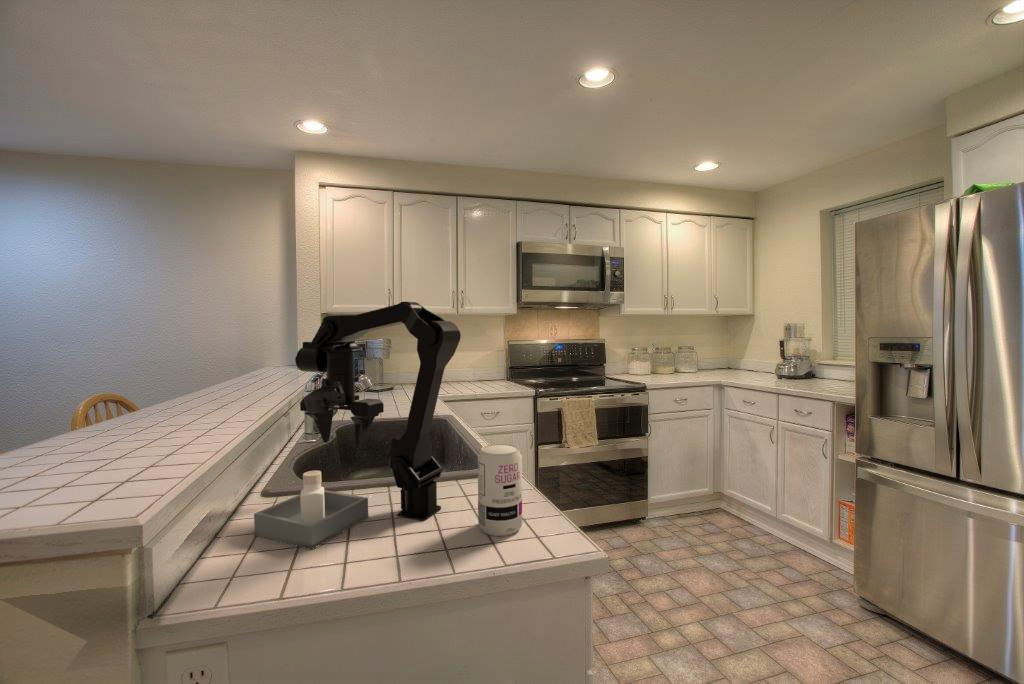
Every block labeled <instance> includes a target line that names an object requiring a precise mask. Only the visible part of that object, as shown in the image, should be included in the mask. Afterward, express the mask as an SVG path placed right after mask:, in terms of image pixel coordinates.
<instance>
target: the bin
mask: <svg viewBox="0 0 1024 684" xmlns="http://www.w3.org/2000/svg"><path fill="white" fill-rule="evenodd" d="M300 495H301V493H300V494H297V495H295V496H293V497H290V498H288V499H286V500H284V501H283V500H282V501H281V502H278V503H277V504H274V505H271V506H270V507H266V508H264V509H262V510H260V511H258V512H255V513H253V519H254V521H253V522H254V524H253V525H254V536H257V537H259V538H263V537H264V539H267V538H268V539H267V540H271V539H273V540H272V541H275V540H277V541H276V542H279V541H281V542H280V543H283V542H285V543H284V544H287V543H289V544H288V545H291V544H293V545H292V546H295V545H297V546H296V547H299V546H301V547H300V548H303V547H305V548H304V549H307V548H310V549H309V550H311V549H313V548H315V547H316V546H318V545H320V544H322V543H323V542H325V541H327V540H329V539H330V540H332V539H334V538H335V536H336V535H337V536H339V535H341V534H343V533H344V532H346V531H348V530H350V529H351V528H353V527H355V526H356V524H357V525H359V523H362V522H364V521H366V520H367V519H368V518H369V498H368V497H366V496H359V495H356V494H349V493H343V492H337V491H332V490H326V489H324V500H325V518H323V519H321V520H319V521H317V522H315V523H313V524H309V523H305V522H301V502H300ZM349 528H350V529H349ZM347 529H348V530H347ZM345 530H346V531H345ZM343 531H344V532H343ZM342 532H343V533H342ZM340 533H341V534H340ZM338 534H339V535H338ZM337 536H336V537H337ZM333 537H334V538H333ZM331 538H332V539H331ZM330 540H329V541H330ZM327 542H328V541H327ZM325 543H326V542H325ZM323 544H324V543H323ZM323 544H322V545H323ZM320 546H321V545H320ZM318 547H319V546H318ZM315 549H316V548H315ZM313 550H314V549H313Z"/></svg>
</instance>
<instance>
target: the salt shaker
mask: <svg viewBox="0 0 1024 684" xmlns="http://www.w3.org/2000/svg"><path fill="white" fill-rule="evenodd" d="M322 482H323V481H322V471H321V470H309V471H306V472H305V471H304V473H303V474H302V485H303V489H301V491H300V494H301V495H300V494H299V495H300V502H301V522H305V523H309V524H313V523H315V522H317V521H319V520H321V519H323V518H325V500H324V490H325V487H323V486H322Z"/></svg>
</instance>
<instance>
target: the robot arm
mask: <svg viewBox="0 0 1024 684" xmlns="http://www.w3.org/2000/svg"><path fill="white" fill-rule="evenodd" d="M402 324H404V326H405V328H406V330H407V331H408V332H409V334H411V335H412V336H413V337H414V338H416V339H417V341H416V345H417V346H416V351H417V356H418V358H419V362H420V363H419V369H418V372H417V377H416V383H415V386H414V391H413V395H412V399H411V405H410V409H409V413H408V417H407V421H406V426H405V430H404V432H403V433H402V434H400V435H396V436H394V437H393V438H392V439H391V444H390V449H389V450H390V451H389V453H388V454H387V458H389V460H388V461H389V462H388V463H389V468H391V471H392V474H393V477H394V481H395V483H396V487H397V488H398V489H400V509H401V510H400V511H398V512H397V516H399V517H405V518H410V519H414V520H419V521H425V520H427V519H429V518H430V517H432V516H433V515H434V514H435V513H437V512H439V511H440V510H441V509H442V506H441V505H438V502H437V501H438V500H437V499H438V498H437V497H438V496H437V495H438V494H437V491H438V490H437V489H438V488H437V481H435V480H436V479H439V478H441V475H442V472H443V467H442V466H441V465H440V464H439V463H438V461H437V460H436V458H434V456H433V443H432V440H431V439H432V438H431V436H430V431H431V429H432V422H433V419H434V414H435V410H436V406H437V403H438V398H439V393H440V389H441V384H442V380H443V375H444V372H445V369H446V366H447V365H448V364H449V362H450V361H451V360H452V358H453V357H454V355H455V353H456V350H457V349H458V346H459V344H460V341H461V335H462V334H461V331H460V329H459V328H458V326H457V325H456V324H455V323H454V322H452V321H448V320H445V319H444V318H443V317H441V316H439V315H437V314H436V313H434V312H432V311H430V310H428V309H427V308H426V307H424V306H422V305H421V304H420V303H418V302H416V301H401V302H399V303H397V304H394V305H390V306H386V307H382V308H377V309H374V310H370V311H366V312H363V313H359V314H358V313H357V314H335V315H326V316H325V317H323V318H322V322H321V323H320V326H319V328H318V329H317V332H316V333H315V335H314V337H313V338H312V340H311V341H302V347H301V348H300V349H299V350H298V351H297V352H296V356H295V357H294V358H295V359H294V361H295V365H296V367H297V369H298V370H300V371H302V372H305V373H306V372H307V373H309V372H310V373H326V377H325V378H322V380H321V382H320V383H321V387H319V388H316V389H315V390H313V391H312V392H310V393H309V394H307V395H305V396H303V398H301V400H300V402H299V406H300V408H299V410H300V411H301V412H304V415H305V416H309V417H310V418H311V419H313V420H314V422H315V425H316V426H317V429H318V431H319V434H320V437H321V439H322V441H323V443H325V444H326V443H328V442H329V441H330V436H331V432H332V425H333V424H332V423H333V418H334V410H343V411H350V412H351V414H352V415H353V416H350V419H351V421H352V422H353V423H354V430H355V431H354V433H355V434H354V438H355V439H354V441H355V445H356V448H359V447H361V446H362V445H363V442H364V441H365V438H366V436H367V433H368V432H369V429H370V427H371V425H372V423H373V422H374V420H375V418H376V417H379V416H380V414H381V413H384V412H385V408H384V402H383V401H382V399H379V398H364V399H360V395H359V394H358V395H357V394H356V385H355V384H356V383H357V382H358V383H359V379H360V378H359V377H360V376H356V375H355V373H356V372H355V371H356V370H355V354H356V353H362V352H363V349H362V348H361V347H360V346H359V345H358V344H357V343H356V341H355V340H357V339H360V338H361V337H363V336H364V335H366V334H367V333H369V332H373V331H375V330H376V331H377V330H380V329H385V328H389V327H394V326H397V325H402Z"/></svg>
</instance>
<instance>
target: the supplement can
mask: <svg viewBox="0 0 1024 684" xmlns="http://www.w3.org/2000/svg"><path fill="white" fill-rule="evenodd" d="M477 516H478V517H477V521H478V522H477V523H478V524H477V525H478V528H479V529H480V530H481V531H482V532H484V533H485V534H486V535H489V536H494V537H506V536H512V535H513V534H515V533H517V532H518V531H519V529H520V528H522V526H523V455H522V453H521V452H520V450H519V447H518V446H517V445H514V444H508V443H492V444H488V445H485V446H482V447H481V448H480V452H479V454H478V456H477Z"/></svg>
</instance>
